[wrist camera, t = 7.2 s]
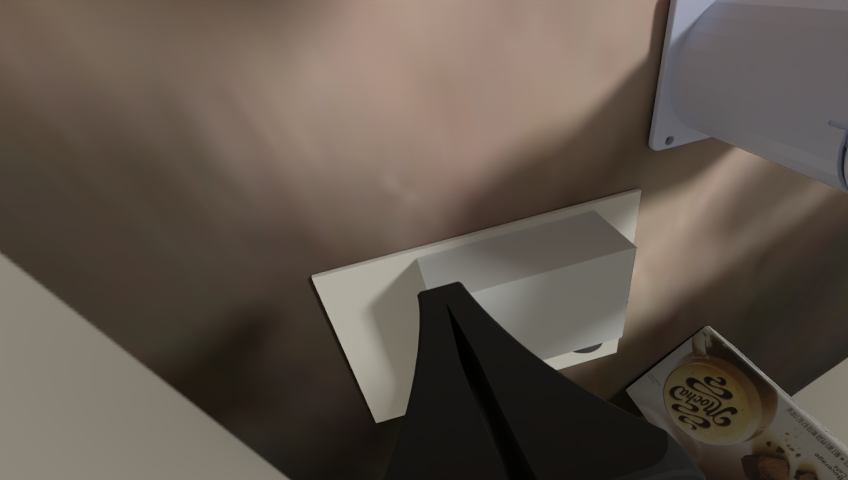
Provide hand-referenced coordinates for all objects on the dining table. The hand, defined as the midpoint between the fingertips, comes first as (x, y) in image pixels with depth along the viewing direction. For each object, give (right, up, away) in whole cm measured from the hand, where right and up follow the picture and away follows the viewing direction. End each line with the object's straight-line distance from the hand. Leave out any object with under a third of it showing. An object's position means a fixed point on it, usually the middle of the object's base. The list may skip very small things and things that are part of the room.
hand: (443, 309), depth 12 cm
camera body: (+5, 0, +13) cm, 14 cm away
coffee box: (+23, -9, +24) cm, 34 cm away
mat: (+4, -3, +15) cm, 16 cm away
